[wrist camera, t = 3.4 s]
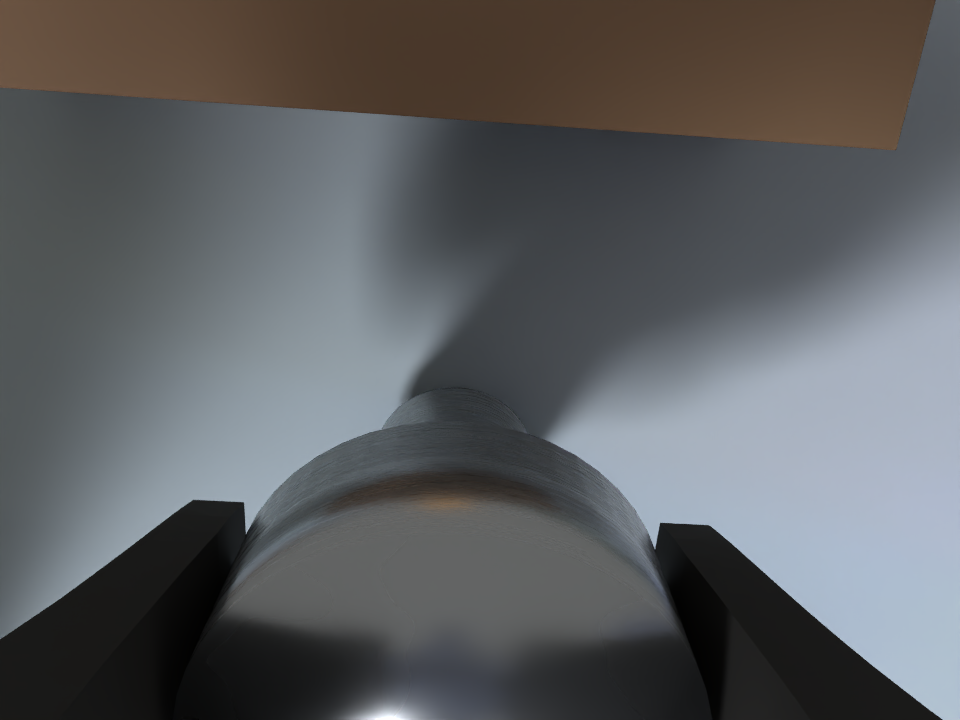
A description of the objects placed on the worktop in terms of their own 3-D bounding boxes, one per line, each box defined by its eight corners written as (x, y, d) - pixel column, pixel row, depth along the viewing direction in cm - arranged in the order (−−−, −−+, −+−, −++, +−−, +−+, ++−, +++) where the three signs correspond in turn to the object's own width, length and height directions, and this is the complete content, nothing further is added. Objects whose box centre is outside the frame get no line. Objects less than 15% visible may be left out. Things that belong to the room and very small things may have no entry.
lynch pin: (589, 592, 13) (665, 936, 8) (300, 578, 13) (192, 924, 8) (630, 321, 12) (762, 548, 6) (293, 300, 11) (147, 517, 6)
